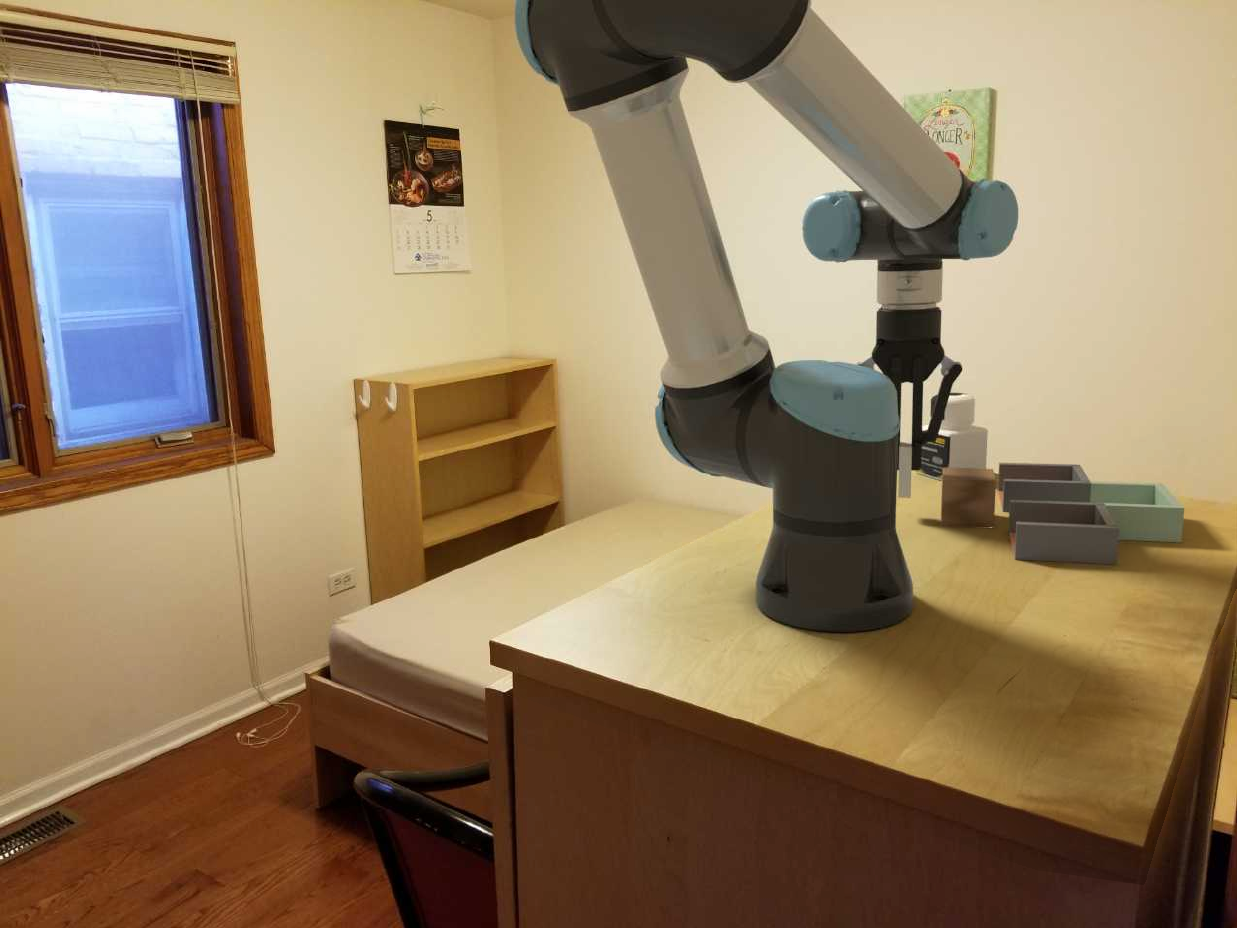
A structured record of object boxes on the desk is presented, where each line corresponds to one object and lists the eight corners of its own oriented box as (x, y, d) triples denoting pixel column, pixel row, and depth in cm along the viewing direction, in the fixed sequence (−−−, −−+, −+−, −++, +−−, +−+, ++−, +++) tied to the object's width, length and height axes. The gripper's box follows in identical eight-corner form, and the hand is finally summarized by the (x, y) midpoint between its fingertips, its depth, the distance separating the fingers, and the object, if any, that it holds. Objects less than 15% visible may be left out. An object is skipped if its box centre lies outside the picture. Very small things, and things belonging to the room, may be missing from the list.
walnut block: (941, 526, 119) (942, 479, 117) (941, 513, 124) (942, 467, 123) (993, 528, 117) (996, 480, 116) (991, 515, 123) (993, 468, 121)
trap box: (1015, 559, 106) (1017, 524, 105) (997, 491, 133) (999, 462, 132) (1202, 569, 100) (1205, 532, 100) (1144, 495, 127) (1147, 466, 126)
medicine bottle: (914, 473, 144) (916, 393, 142) (952, 467, 147) (955, 388, 144) (948, 483, 138) (950, 400, 135) (986, 476, 141) (990, 394, 138)
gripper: (851, 309, 115) (849, 501, 121) (967, 307, 111) (960, 504, 117) (855, 304, 122) (853, 485, 128) (964, 302, 118) (958, 489, 124)
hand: (904, 494), depth 122 cm, fingers closed
